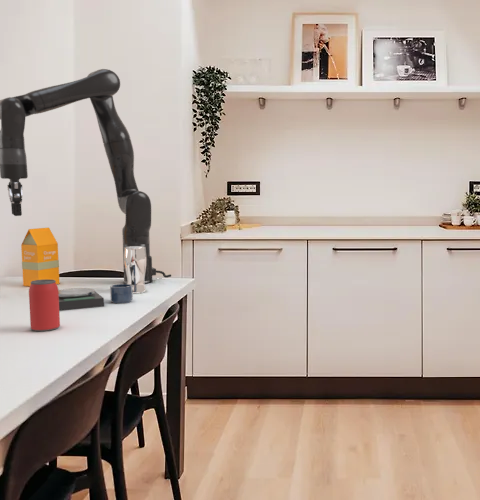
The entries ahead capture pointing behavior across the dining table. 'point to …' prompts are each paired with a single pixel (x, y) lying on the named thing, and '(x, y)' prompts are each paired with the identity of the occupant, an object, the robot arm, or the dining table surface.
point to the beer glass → (135, 267)
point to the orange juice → (39, 256)
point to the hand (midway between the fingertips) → (16, 215)
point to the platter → (75, 292)
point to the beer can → (44, 305)
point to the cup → (121, 293)
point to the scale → (81, 302)
